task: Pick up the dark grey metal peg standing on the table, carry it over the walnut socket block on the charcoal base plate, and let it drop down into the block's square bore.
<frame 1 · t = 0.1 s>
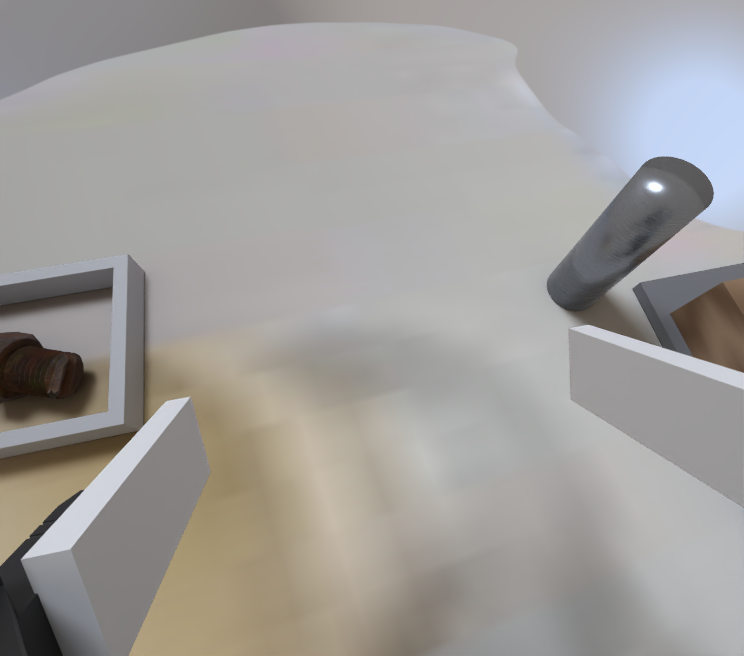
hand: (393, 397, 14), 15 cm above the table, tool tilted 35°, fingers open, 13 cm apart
peg: (571, 288, 33), on the table
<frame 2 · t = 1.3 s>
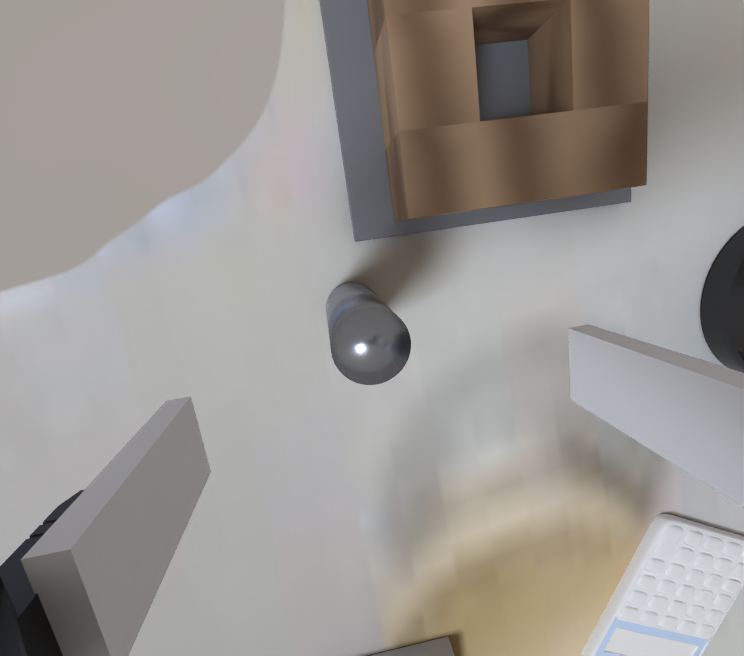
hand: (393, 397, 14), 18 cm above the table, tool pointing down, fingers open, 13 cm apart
calculator: (658, 599, 44), on the table
socket: (484, 96, 30), on the table
peg: (351, 307, 32), on the table
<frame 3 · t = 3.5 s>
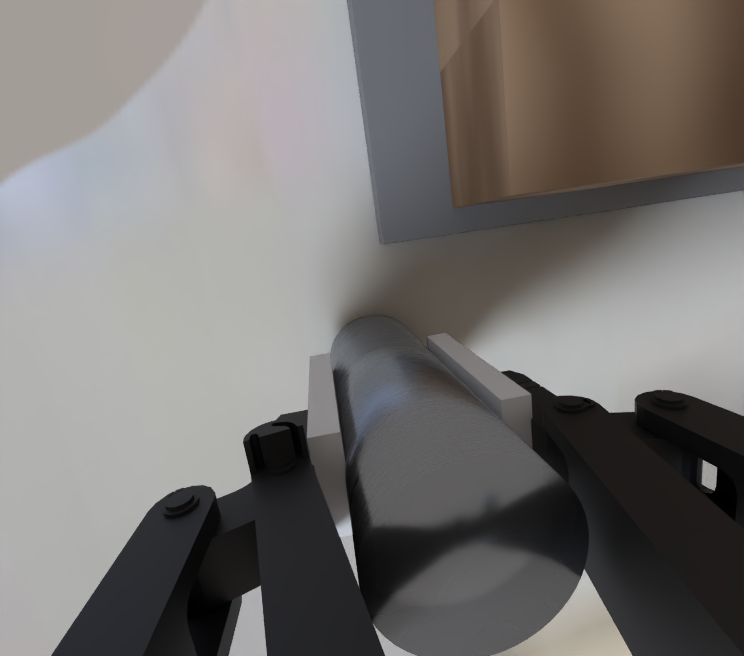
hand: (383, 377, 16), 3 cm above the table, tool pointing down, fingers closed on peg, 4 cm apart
peg: (374, 358, 18), on the table, touching gripper
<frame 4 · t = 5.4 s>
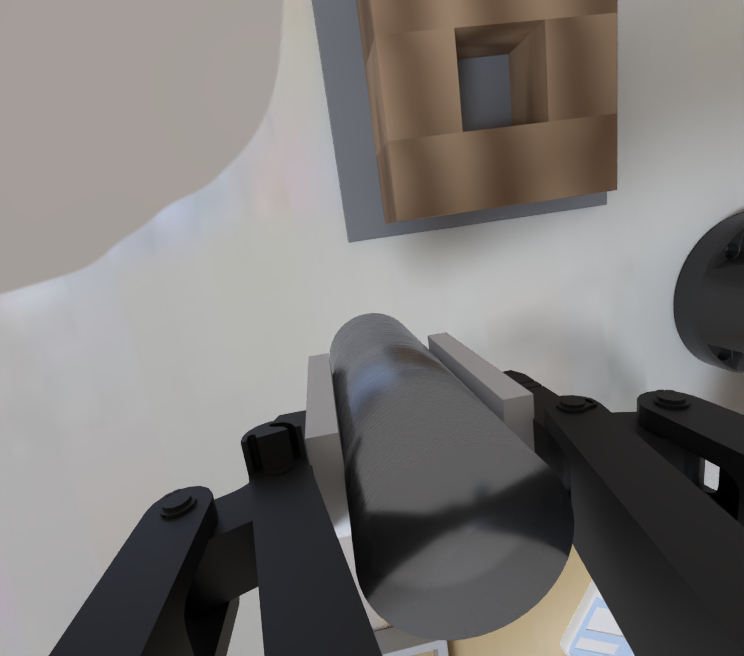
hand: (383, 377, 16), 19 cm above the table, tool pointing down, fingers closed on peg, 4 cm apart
calculator: (637, 580, 46), on the table
socket: (468, 106, 32), on the table
peg: (372, 355, 19), point 16 cm above the table, touching gripper
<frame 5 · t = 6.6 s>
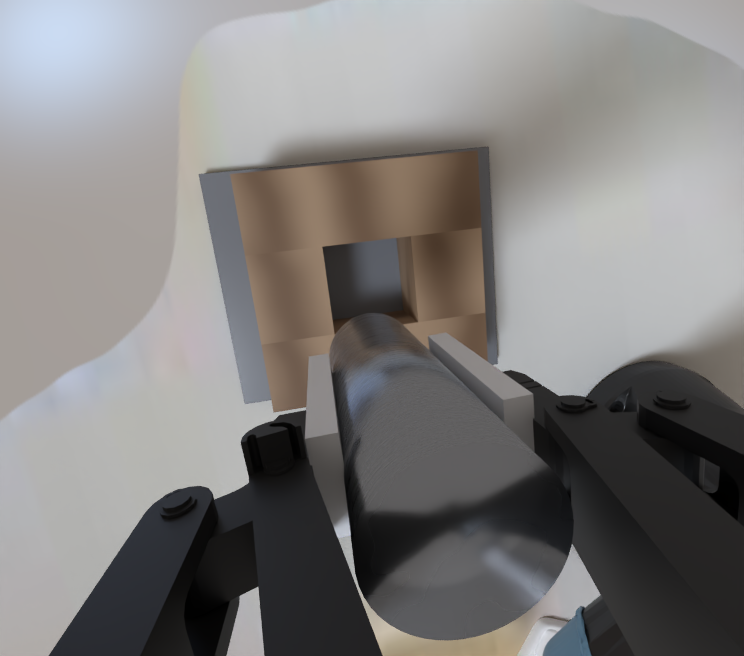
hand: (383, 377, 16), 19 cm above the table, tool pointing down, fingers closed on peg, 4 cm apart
socket: (361, 277, 33), on the table
peg: (372, 355, 19), point 16 cm above the table, touching gripper
when the fingers open (7 cm above the table, at t = 10.1 s): peg drops 3 cm, resting on socket.
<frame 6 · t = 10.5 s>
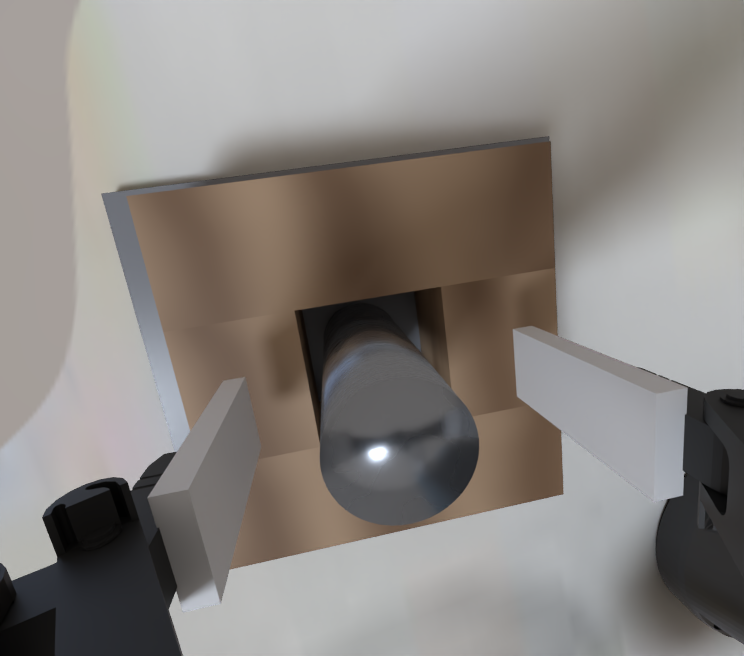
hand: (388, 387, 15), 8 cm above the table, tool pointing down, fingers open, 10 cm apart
socket: (362, 335, 23), on the table
peg: (361, 340, 22), point 1 cm above the table, touching socket
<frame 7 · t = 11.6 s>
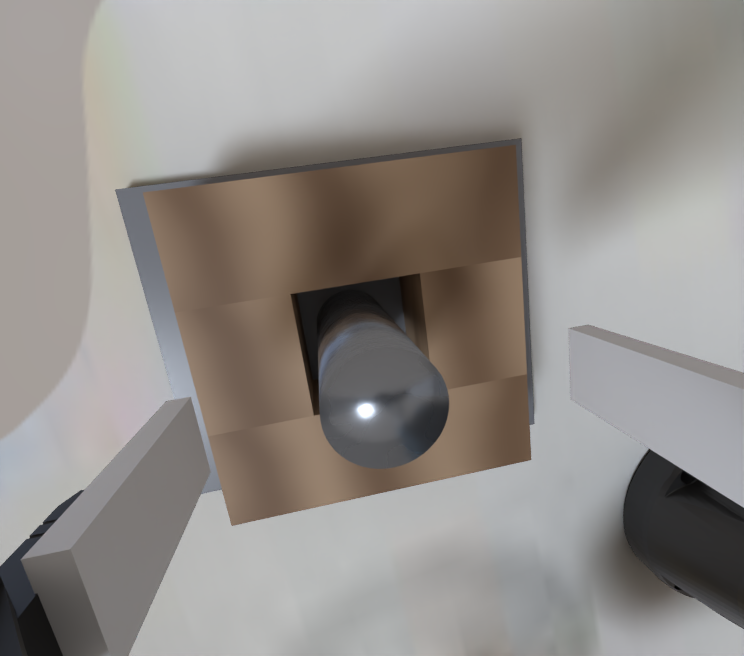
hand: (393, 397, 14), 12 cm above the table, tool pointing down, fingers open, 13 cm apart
socket: (352, 320, 25), on the table
peg: (351, 323, 24), point 1 cm above the table, touching socket
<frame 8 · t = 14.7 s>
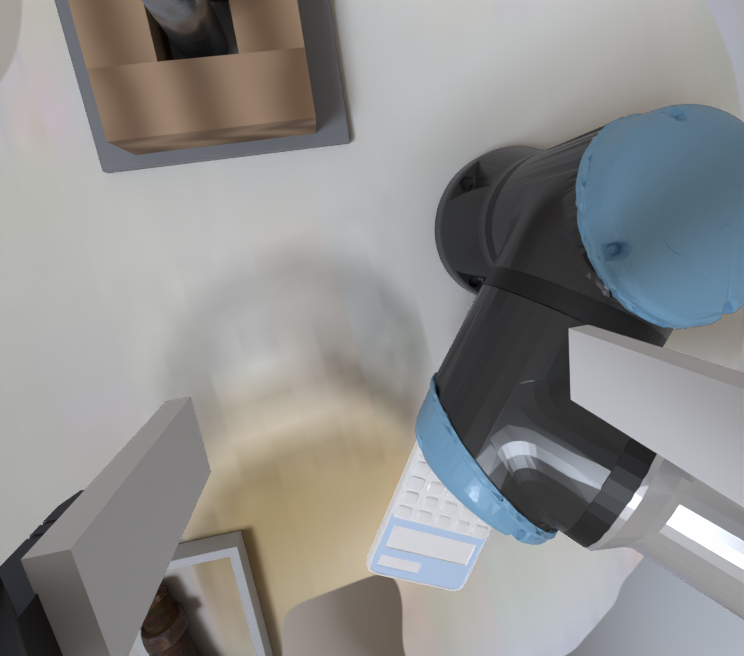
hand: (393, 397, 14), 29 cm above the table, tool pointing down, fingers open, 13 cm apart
calculator: (441, 504, 50), on the table
socket: (209, 49, 35), on the table
peg: (203, 43, 34), point 1 cm above the table, touching socket
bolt: (183, 626, 48), on the table, touching parts tray
parts tray: (205, 621, 48), on the table
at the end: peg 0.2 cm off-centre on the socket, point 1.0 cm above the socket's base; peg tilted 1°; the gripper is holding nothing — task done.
